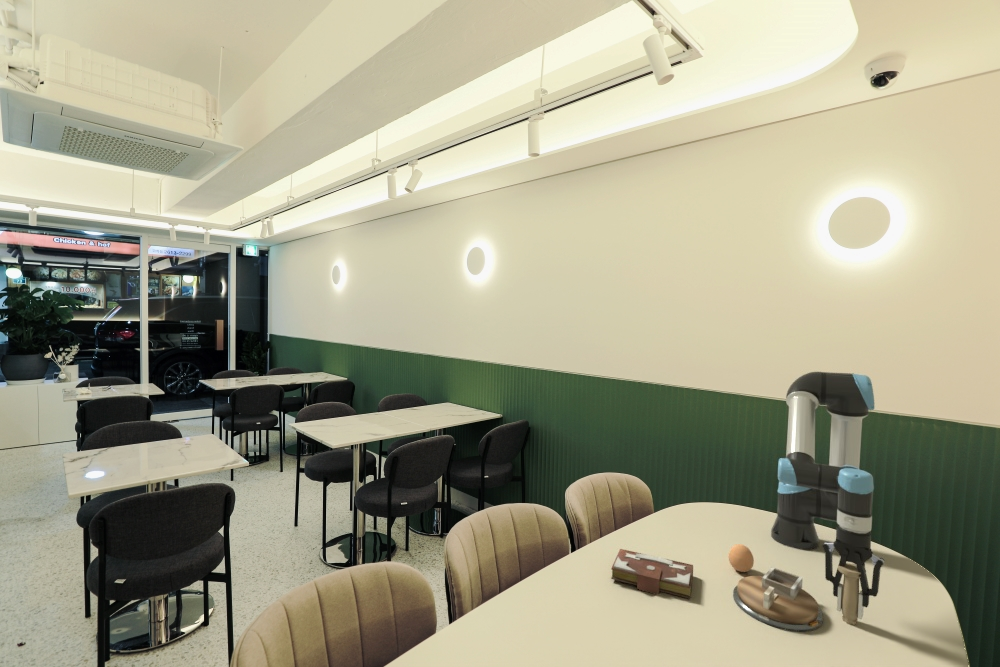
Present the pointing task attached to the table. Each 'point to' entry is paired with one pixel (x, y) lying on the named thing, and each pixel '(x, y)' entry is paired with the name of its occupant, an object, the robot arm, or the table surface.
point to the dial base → (777, 624)
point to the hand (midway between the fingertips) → (849, 612)
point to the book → (653, 573)
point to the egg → (741, 558)
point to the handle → (850, 593)
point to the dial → (778, 597)
